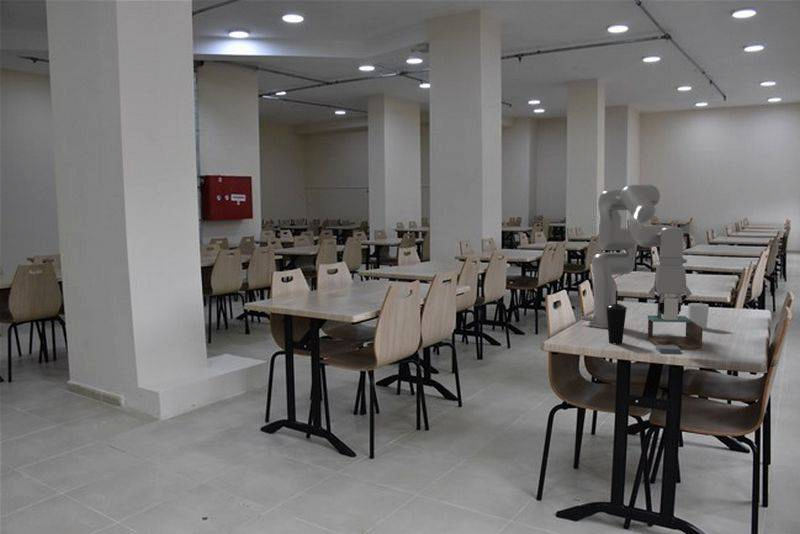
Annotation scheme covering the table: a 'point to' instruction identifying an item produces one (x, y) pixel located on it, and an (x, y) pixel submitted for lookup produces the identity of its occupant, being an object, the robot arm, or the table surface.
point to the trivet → (668, 349)
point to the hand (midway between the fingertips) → (669, 313)
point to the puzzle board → (679, 337)
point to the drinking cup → (616, 321)
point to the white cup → (698, 313)
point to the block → (670, 308)
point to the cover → (659, 319)
